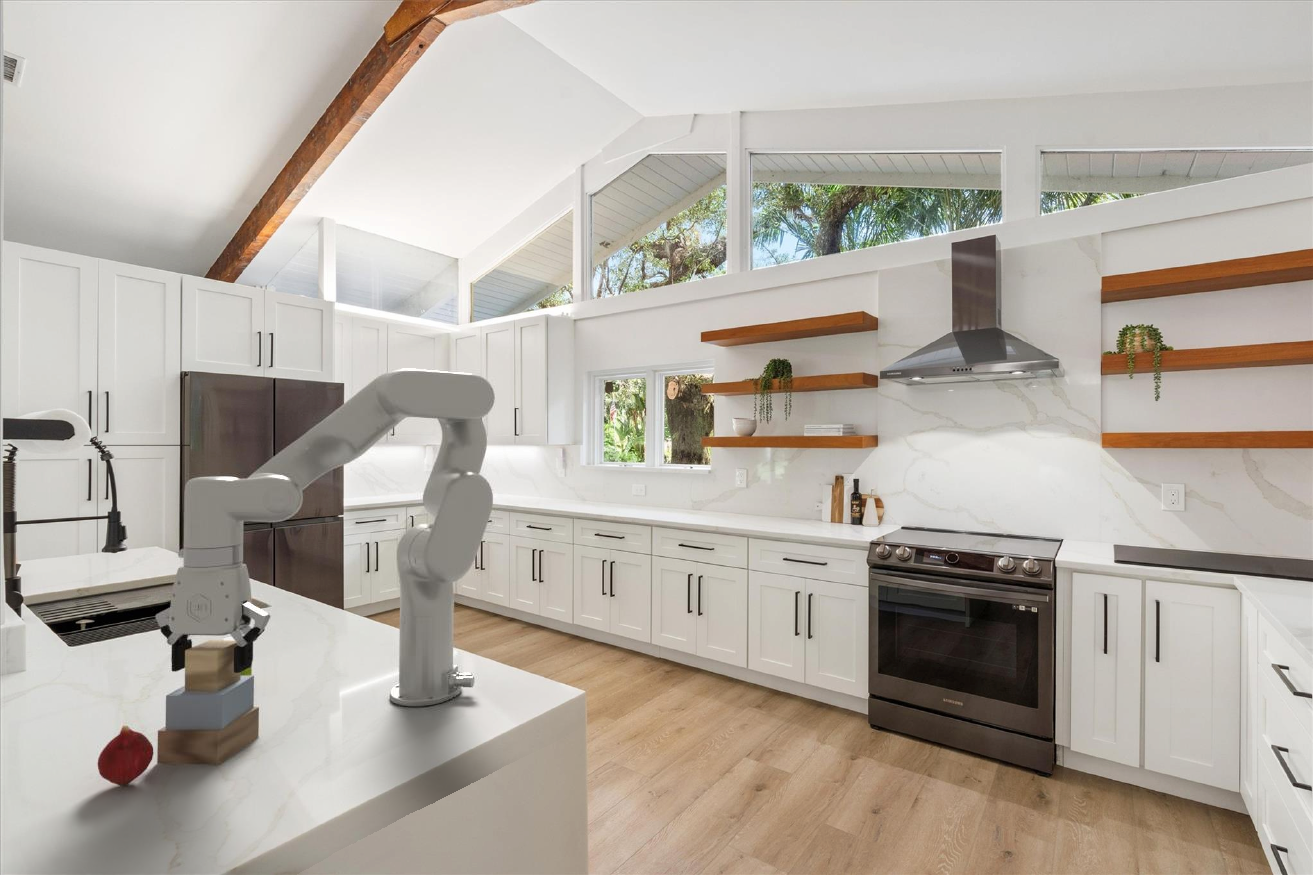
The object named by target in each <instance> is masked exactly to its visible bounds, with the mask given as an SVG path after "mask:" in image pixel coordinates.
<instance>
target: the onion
mask: <svg viewBox="0 0 1313 875" xmlns="http://www.w3.org/2000/svg"><path fill="white" fill-rule="evenodd" d="M153 758H154V746H153V744H152V742H151V741H150V740H149V739H148V737H146V735H144V734H143V733H141V732H139V731H134V730H132V728H130V727H129V726H128V725H122V727H121V730H120V731H119V734H117V735H116V736H115V737H114V738H112V739H111V740H110V741H109V742H108V743H107V744H106V746H104V748H103V749H102V751H101V752H100V754H99V756H98V760H97V769H98V773H99V775H100V776H101V778H103V779H104V780H106V781H109V782H110V783H112V784H115V785H118V786H120V787H125V786H128V785H129V784H131V783H132V782H133V781H135V780H136V779H137V778H139V777H140V776H141V775H143V773H144V772H145V771H146V770H148V767H149V766H150V764H151V762H152V760H153Z"/></svg>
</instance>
